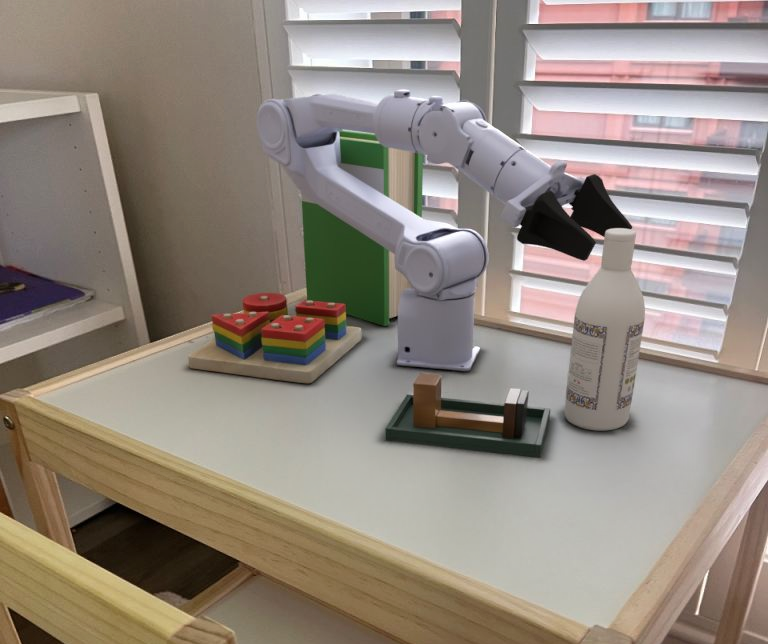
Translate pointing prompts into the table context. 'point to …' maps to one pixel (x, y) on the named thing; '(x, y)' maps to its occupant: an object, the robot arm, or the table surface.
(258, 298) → the shape sorter
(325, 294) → the hardback book
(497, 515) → the table surface
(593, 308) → the bath foam
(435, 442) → the brush tray
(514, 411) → the brown barbell-shaped piece
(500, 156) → the robot arm
